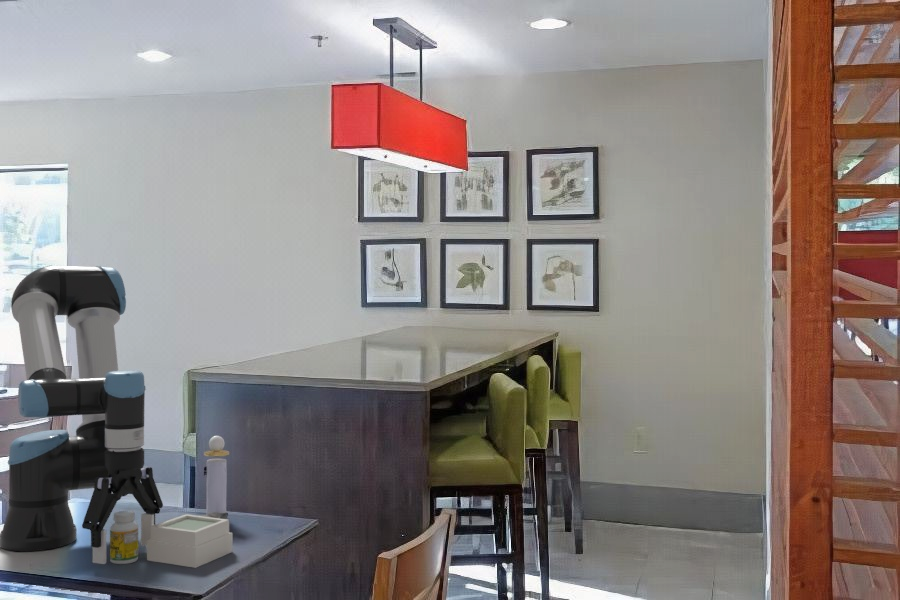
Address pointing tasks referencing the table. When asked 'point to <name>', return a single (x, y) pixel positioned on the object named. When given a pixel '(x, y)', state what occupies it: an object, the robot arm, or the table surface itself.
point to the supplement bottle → (124, 538)
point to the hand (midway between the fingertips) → (124, 554)
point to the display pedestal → (189, 540)
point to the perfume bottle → (216, 476)
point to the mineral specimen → (216, 515)
